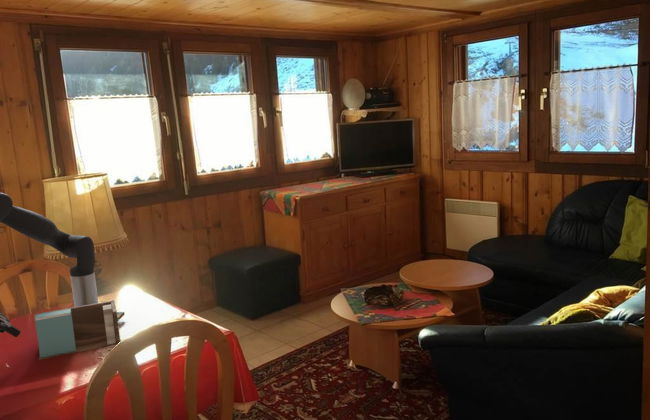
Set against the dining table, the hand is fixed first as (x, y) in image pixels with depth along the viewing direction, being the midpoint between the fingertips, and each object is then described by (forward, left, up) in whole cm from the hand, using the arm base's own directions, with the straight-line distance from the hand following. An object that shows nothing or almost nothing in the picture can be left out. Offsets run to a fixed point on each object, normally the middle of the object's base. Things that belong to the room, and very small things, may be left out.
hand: (18, 334), depth 185 cm
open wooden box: (-3, +18, -10) cm, 21 cm away
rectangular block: (0, +11, -9) cm, 14 cm away
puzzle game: (-23, +23, -11) cm, 34 cm away
